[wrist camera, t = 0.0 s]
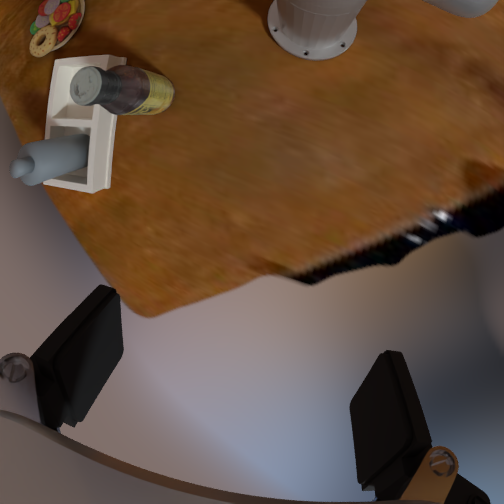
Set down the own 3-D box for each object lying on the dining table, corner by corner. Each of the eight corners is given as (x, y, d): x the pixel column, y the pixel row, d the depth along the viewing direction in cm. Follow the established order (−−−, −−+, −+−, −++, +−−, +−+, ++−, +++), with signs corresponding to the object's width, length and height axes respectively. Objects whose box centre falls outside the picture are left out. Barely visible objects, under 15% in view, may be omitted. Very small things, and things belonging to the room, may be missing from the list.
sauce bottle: (136, 110, 42) (51, 113, 23) (146, 73, 39) (64, 54, 21) (173, 118, 42) (98, 121, 24) (184, 79, 39) (115, 57, 21)
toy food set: (38, 64, 39) (27, 63, 36) (36, 13, 34) (26, 10, 31) (90, 32, 36) (79, 29, 33) (86, -20, 31) (77, -25, 28)
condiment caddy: (71, 61, 38) (2, 54, 23) (127, 58, 38) (59, 40, 22) (59, 178, 47) (-7, 205, 32) (110, 187, 47) (44, 219, 32)
